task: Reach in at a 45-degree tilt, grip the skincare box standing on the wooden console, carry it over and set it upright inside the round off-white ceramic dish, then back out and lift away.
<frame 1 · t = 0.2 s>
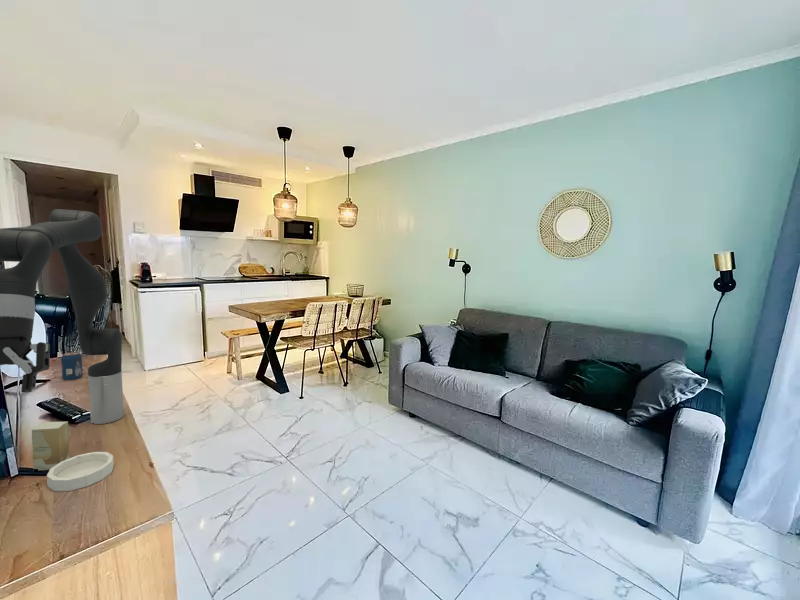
blue carton: (72, 378, 164), on the table
ceramic dish: (82, 475, 96), on the table
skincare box: (52, 466, 99), on the table
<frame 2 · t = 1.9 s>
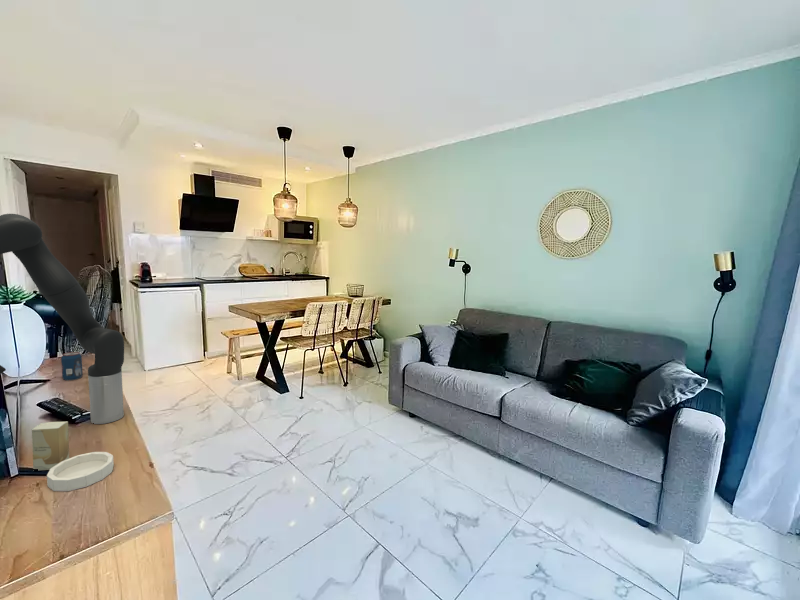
nothing on the table moved.
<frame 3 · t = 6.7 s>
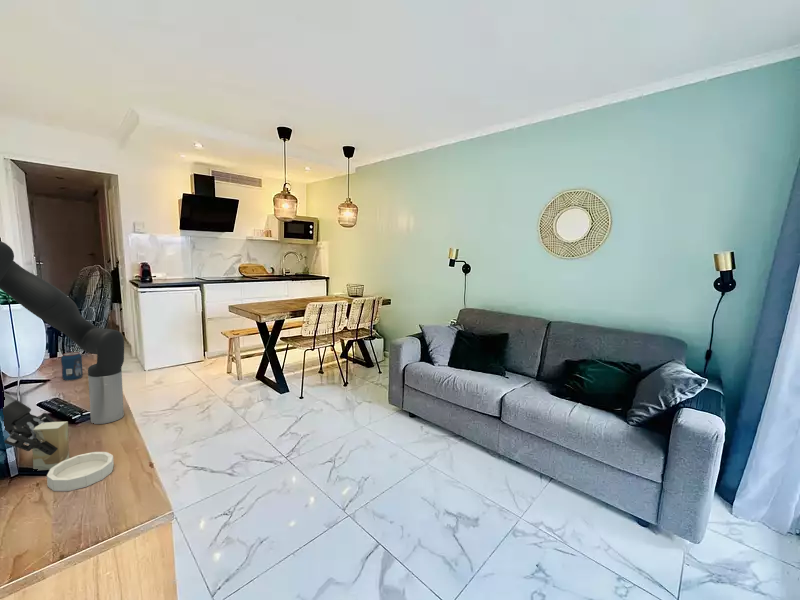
hand: (59, 447, 99), 5 cm above the table, tool tilted 45°, fingers closed on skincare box, 4 cm apart
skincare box: (52, 466, 99), on the table, touching gripper
everything else where it was.
when the fingers open (7 cm above the table, at t = 12.6 s): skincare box stays where it is, resting on ceramic dish.
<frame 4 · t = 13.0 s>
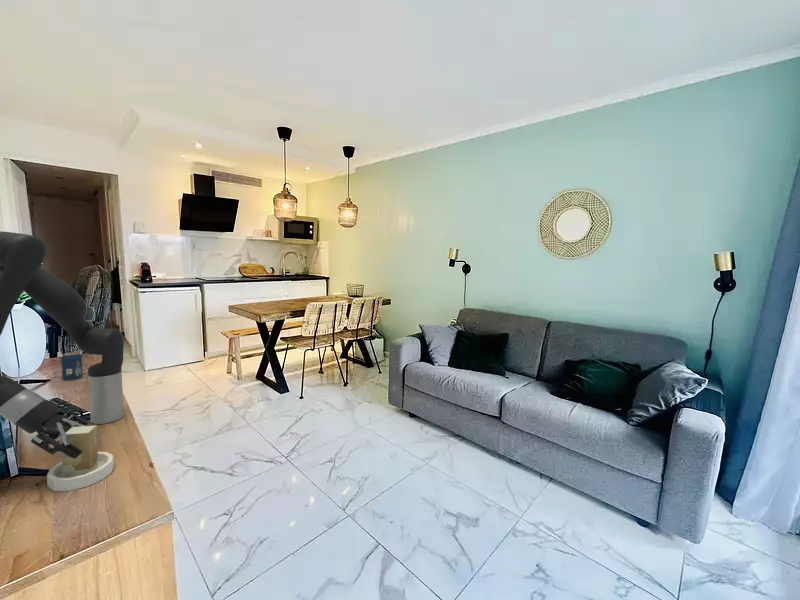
hand: (87, 447, 95), 8 cm above the table, tool tilted 45°, fingers open, 7 cm apart
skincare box: (81, 472, 96), point 1 cm above the table, touching ceramic dish
everything else where it was.
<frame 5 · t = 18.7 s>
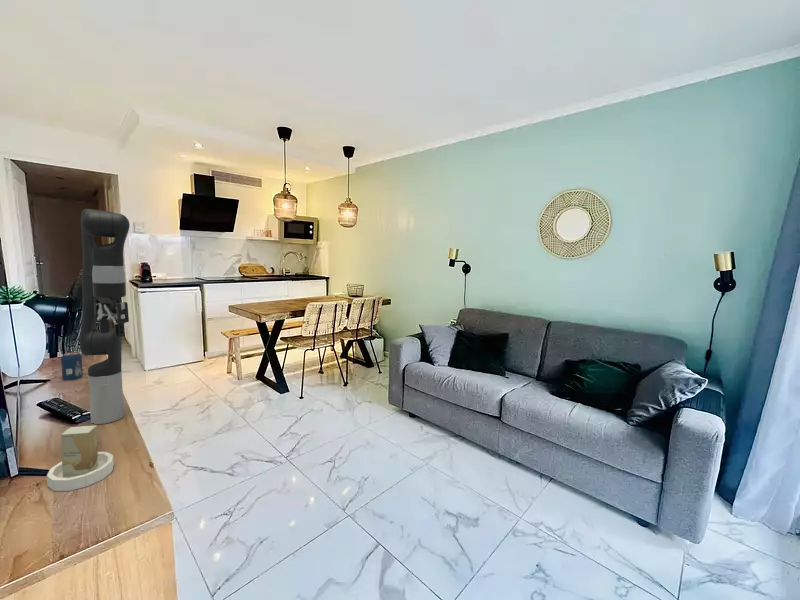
hand: (112, 334, 106), 36 cm above the table, tool pointing down, fingers open, 8 cm apart
nothing on the table moved.
at the end: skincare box 0.2 cm off-centre on the ceramic dish, point 0.8 cm above the ceramic dish's base; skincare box tilted 0°; the gripper is holding nothing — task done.
